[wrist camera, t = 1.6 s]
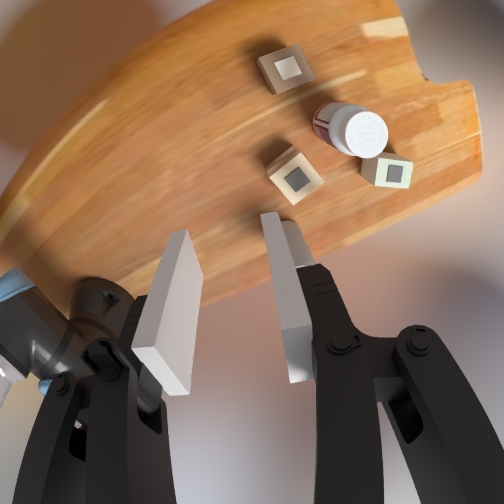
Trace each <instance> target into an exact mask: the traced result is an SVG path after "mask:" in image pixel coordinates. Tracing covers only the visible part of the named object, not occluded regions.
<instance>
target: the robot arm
mask: <svg viewBox="0 0 504 504" xmlns="http://www.w3.org/2000/svg"><path fill="white" fill-rule="evenodd" d="M260 216H261V221H262V227H263V232H264V237H265V242H266V248H267V253H268V259H269V264H270V269H271V275H272V280H273V286H274V291H275V297H276V303H277V308H278V314H279V319H280V325H281V330H282V337H283V343H284V349H285V354H286V360H287V366H288V372H289V378H290V383H294V382H300V381H305V380H309V379H314V378H315V382H316V415H317V416H316V417H317V418H316V468H315V470H316V471H315V489H314V504H384V477H383V459H382V446H381V435H380V425H379V417H378V409H377V402H382V404H383V407H384V409H385V411H386V414H387V415H388V418H389V421H390V423H391V425H392V428H393V430H394V432H395V435H396V438H397V440H398V442H399V445H400V447H401V450H402V453H403V455H404V457H405V460H406V463H407V466H408V468H409V471H410V474H411V476H412V479H413V482H414V484H415V488H416V490H417V493H418V496H419V499H420V502H421V504H504V449H503V447H502V445H501V443H500V441H499V439H498V436H497V434H496V432H495V430H494V428H493V426H492V424H491V422H490V420H489V418H488V416H487V414H486V412H485V411H484V409H483V407H482V405H481V403H480V401H479V400H478V398H477V396H476V394H475V392H474V391H473V389H472V387H471V386H470V384H469V382H468V381H467V379H466V377H465V376H464V374H463V372H462V371H461V369H460V368H459V366H458V364H457V363H456V361H455V360H454V358H453V357H452V355H451V353H450V352H449V350H448V349H447V348H446V346H445V344H444V343H443V342H442V340H441V339H440V337H439V336H438V335H437V334H436V333H435V332H434V331H433V330H432V329H430V328H428V327H426V326H421V325H413V326H408V327H406V328H405V329H403V330H402V331H401V332H400V333H399V335H398V337H397V338H379V337H371V336H368V335H365V334H364V333H362V332H360V331H359V330H358V329H357V328H356V327H355V326H354V325H353V323H352V321H351V319H350V316H349V314H348V312H347V309H346V307H345V304H344V302H343V300H342V298H341V296H340V293H339V292H338V289H337V286H336V284H335V283H334V280H333V278H332V275H331V273H330V271H329V270H328V269H326V268H325V267H324V266H323V265H321V264H314V265H309V266H304V267H299V268H295V265H294V262H293V259H292V255H291V252H290V249H289V246H288V243H287V240H286V236H285V233H284V230H283V227H282V224H281V221H280V218H279V215H278V212H277V211H275V212H270V213H264V214H260ZM202 283H203V274H202V271H201V268H200V265H199V263H198V260H197V257H196V254H195V251H194V248H193V245H192V242H191V240H190V237H189V234H188V231H187V229H185V230H180V231H175V232H171V235H170V237H169V240H168V242H167V245H166V247H165V250H164V252H163V255H162V258H161V260H160V263H159V266H158V268H157V271H156V274H155V276H154V279H153V282H152V285H151V287H150V290H149V293H148V295H142V296H138V297H137V298H136V300H134V299H133V297H132V296H131V295H130V294H129V293H128V292H126V291H125V290H124V289H123V288H121V287H120V286H118V285H116V284H114V283H112V282H110V281H107V280H103V279H96V278H93V279H87V280H84V281H83V282H81V283H80V284H79V285H78V287H77V288H76V290H75V292H74V293H73V296H72V301H71V310H70V316H69V320H68V319H67V318H66V317H65V316H64V315H63V314H62V313H61V312H60V311H59V310H58V309H57V308H56V307H55V306H54V305H53V304H52V303H51V302H50V301H49V300H48V299H47V298H46V297H45V295H44V294H43V293H42V292H41V291H40V290H39V289H38V287H37V285H36V284H35V283H33V282H32V281H31V280H30V279H29V278H28V277H27V276H26V275H25V274H24V272H23V271H21V270H20V269H17V268H14V269H11V270H9V271H8V272H7V273H5V274H4V275H3V276H2V277H1V278H0V409H1V407H2V405H3V403H4V401H5V398H6V396H7V394H8V392H9V390H10V388H11V386H12V384H13V383H14V382H17V381H24V380H26V378H27V376H28V374H29V373H30V372H32V373H33V374H34V375H35V376H36V377H38V378H39V379H40V381H39V383H38V385H39V386H38V388H39V390H40V392H41V393H42V394H43V395H44V396H45V397H44V400H43V402H42V404H41V407H40V409H39V412H38V415H37V417H36V420H35V423H34V426H33V428H32V431H31V434H30V437H29V440H28V443H27V446H26V449H25V453H24V456H23V460H22V463H21V467H20V471H19V475H18V478H17V483H16V487H15V492H14V497H13V502H12V504H177V503H176V496H175V489H174V482H173V475H172V467H171V457H170V448H169V436H168V424H167V408H166V404H165V402H164V401H163V399H162V398H161V394H162V388H163V389H164V390H165V391H166V392H167V393H168V394H169V395H190V386H191V376H192V365H193V356H194V347H195V338H196V329H197V321H198V313H199V305H200V298H201V290H202ZM76 420H77V421H78V422H80V423H81V424H82V426H81V427H80V428H78V429H77V428H76V427H75V426H74V424H75V421H76Z"/></svg>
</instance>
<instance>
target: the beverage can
mask: <svg viewBox="0 0 504 504" xmlns="http://www.w3.org/2000/svg"><path fill="white" fill-rule="evenodd" d="M281 224H282V227H283V230H284V233H285V236H286V240H287V243H288V246H289V249H290V252H291V255H292V259H293V262H294V265H295V268H299V267H304V266H309V265H314V264H315V261H314V259H313V256H312V254H311V252H310V249H309V247H308V245H307V243H306V241H305V239H304V236H303V234H302V232H301V230H300V228H299V226H298V225H297V224H296V223H295V222H293V221H282V222H281Z"/></svg>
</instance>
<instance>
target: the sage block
mask: <svg viewBox="0 0 504 504" xmlns="http://www.w3.org/2000/svg"><path fill="white" fill-rule="evenodd" d="M412 168H413V162H412V161H410V160H408V159H406V158H404V157H402V156H400V155H398V154H394V153H387V152H381V153H380V154H378V155H377V156H375V157H372V158H362V166H361V174H360V175H361V176H362V177H363V178H365V179H366V180H367V181H369V182H370V183H371V184H373V185H374V186H382V187H396V188H409V185H410V179H411V174H412Z"/></svg>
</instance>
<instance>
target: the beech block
mask: <svg viewBox="0 0 504 504" xmlns="http://www.w3.org/2000/svg"><path fill="white" fill-rule="evenodd" d="M265 168H266V171H267V173H268V176H269V178H270V179H271V180H272V181H273V182H274V183H275V185H276V186H277V187H278V188H279V189H280V190H281V191H282V193H283V194H284V195H285V196H286V197H287V198H288V200H289V201H290V202H291V203H292V204H293V205H295V204H296V203H297V202H299V201H300V200H301V199H303V198H304V197H305V196H307V195H308V194H309V193H311V192H312V191H313V190H314V189H316V188H317V187H318V186H320V185H321V184H322V183H324V182H323V180H322V179H321V178H320V176H319V175H318V174H317V172H316V171H315V170H314V168H313V167H312V166H311V165H310V163H309V162H308V161H307V159H306V158H305V157H304V156H303V154H302V153H301V152H300V151H299V150H298V149H297V148H296V147H295V146H291V147H290V148H289V149H288V150H286V151H285V152H284V153H282V154H281V155H280V156H279V157H277V158H276V159H275V160H274V161H272V162H271V163H270V164H269V165H267V166H266V167H265Z"/></svg>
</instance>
